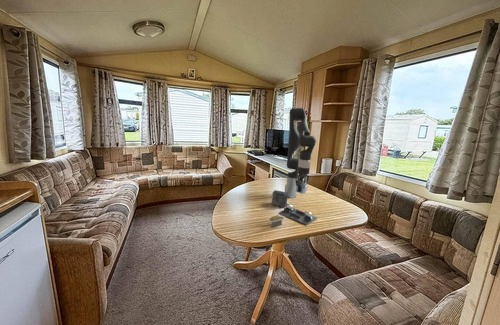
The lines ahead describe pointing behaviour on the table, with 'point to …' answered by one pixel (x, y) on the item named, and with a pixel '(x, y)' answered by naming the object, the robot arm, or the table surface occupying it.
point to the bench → (298, 215)
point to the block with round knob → (302, 188)
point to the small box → (279, 198)
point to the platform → (276, 220)
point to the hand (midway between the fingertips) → (300, 191)
